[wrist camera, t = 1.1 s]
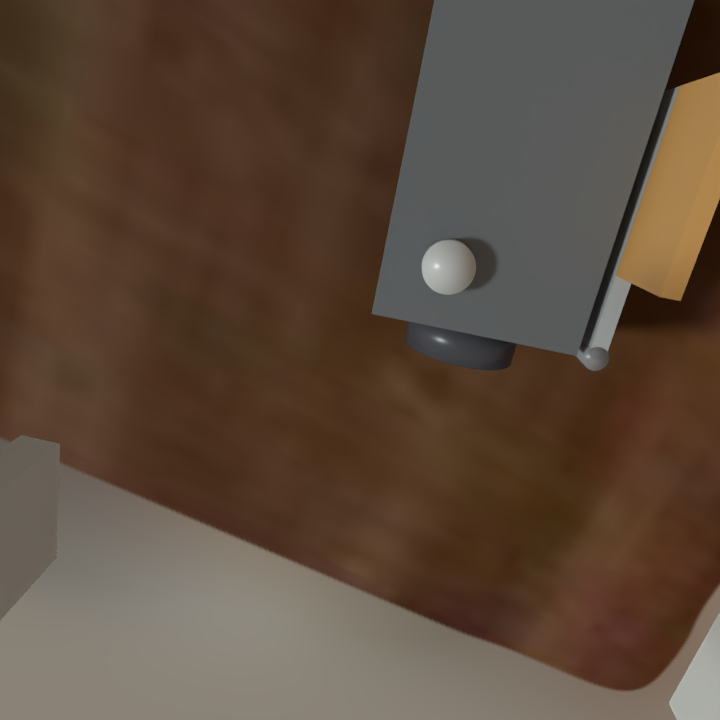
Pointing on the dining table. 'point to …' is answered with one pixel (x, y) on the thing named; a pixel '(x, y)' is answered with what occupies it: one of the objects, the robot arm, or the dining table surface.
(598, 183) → the block
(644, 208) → the door
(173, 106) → the dining table surface
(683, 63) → the dining table surface
